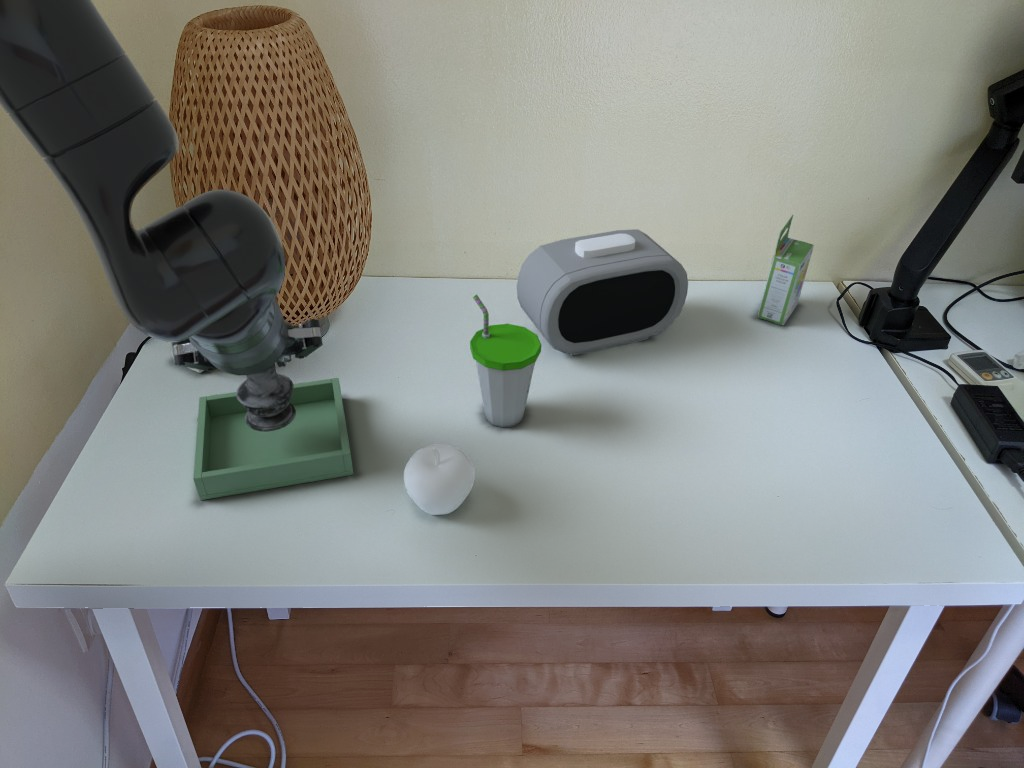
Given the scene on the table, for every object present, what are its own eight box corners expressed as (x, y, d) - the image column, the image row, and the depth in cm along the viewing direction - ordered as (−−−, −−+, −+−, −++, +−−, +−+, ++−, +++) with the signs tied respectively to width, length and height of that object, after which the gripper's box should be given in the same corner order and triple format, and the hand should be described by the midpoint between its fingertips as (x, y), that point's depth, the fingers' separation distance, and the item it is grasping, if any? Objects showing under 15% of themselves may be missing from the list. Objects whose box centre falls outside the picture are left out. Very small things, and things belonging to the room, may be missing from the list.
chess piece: (310, 408, 85) (293, 315, 77) (273, 440, 80) (252, 344, 73) (268, 393, 87) (247, 300, 79) (230, 422, 82) (205, 328, 75)
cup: (548, 426, 90) (555, 317, 81) (486, 444, 87) (486, 332, 78) (520, 388, 95) (524, 282, 86) (461, 403, 93) (458, 295, 84)
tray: (200, 500, 79) (193, 478, 77) (205, 417, 90) (199, 396, 88) (353, 474, 83) (350, 453, 81) (341, 398, 93) (338, 377, 91)
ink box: (784, 327, 108) (808, 240, 100) (756, 318, 109) (777, 232, 101) (797, 305, 112) (822, 220, 104) (771, 297, 114) (792, 213, 106)
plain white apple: (391, 503, 80) (385, 445, 75) (441, 468, 84) (438, 411, 79) (439, 539, 76) (436, 480, 71) (488, 500, 80) (488, 442, 75)
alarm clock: (543, 367, 99) (548, 275, 91) (515, 328, 106) (517, 239, 98) (681, 336, 105) (698, 247, 97) (646, 301, 112) (659, 216, 104)
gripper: (316, 270, 67) (323, 317, 83) (140, 290, 64) (184, 334, 80) (329, 355, 66) (334, 385, 83) (151, 379, 63) (194, 405, 79)
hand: (260, 360), depth 81 cm, fingers closed on chess piece, 3 cm apart
